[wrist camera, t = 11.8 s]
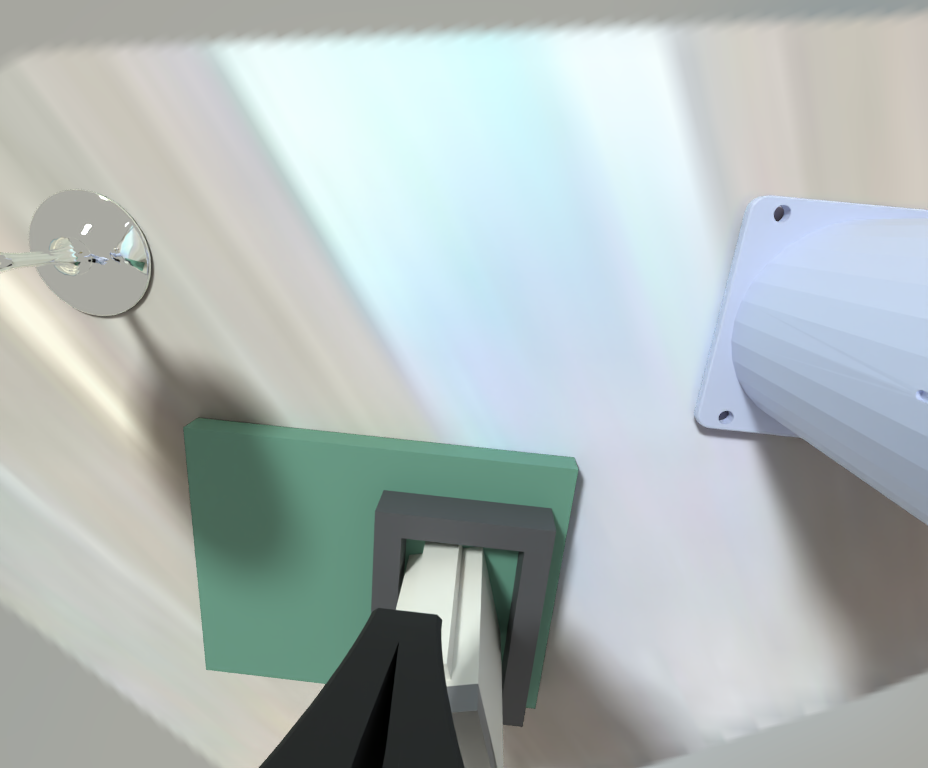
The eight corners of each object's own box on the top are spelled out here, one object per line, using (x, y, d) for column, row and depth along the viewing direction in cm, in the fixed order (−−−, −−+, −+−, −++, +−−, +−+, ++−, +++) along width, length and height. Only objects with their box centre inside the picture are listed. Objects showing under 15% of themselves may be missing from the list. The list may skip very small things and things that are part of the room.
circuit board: (574, 457, 19) (585, 490, 17) (533, 688, 23) (537, 742, 21) (198, 417, 20) (157, 444, 17) (218, 651, 24) (186, 699, 21)
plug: (500, 635, 21) (504, 825, 14) (431, 642, 21) (404, 832, 15) (479, 532, 20) (473, 693, 13) (406, 542, 20) (362, 703, 13)
